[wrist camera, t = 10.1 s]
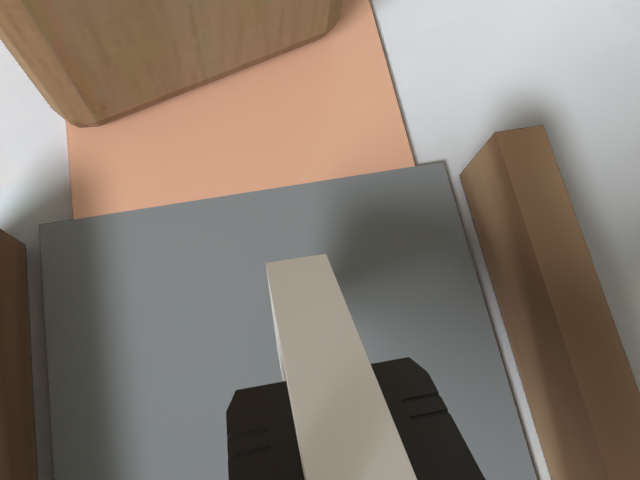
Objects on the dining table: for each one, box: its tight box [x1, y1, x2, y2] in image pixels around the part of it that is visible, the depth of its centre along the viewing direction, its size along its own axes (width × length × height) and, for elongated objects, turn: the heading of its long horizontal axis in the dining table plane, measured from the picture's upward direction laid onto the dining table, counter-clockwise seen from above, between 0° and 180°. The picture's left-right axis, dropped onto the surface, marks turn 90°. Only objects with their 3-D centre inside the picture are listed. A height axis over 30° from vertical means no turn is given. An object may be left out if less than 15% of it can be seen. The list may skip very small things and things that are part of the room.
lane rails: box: [0, 125, 640, 480], centre depth 14 cm, size 17×13×3 cm
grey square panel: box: [39, 162, 537, 480], centre depth 15 cm, size 13×15×1 cm
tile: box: [66, 0, 415, 219], centre depth 19 cm, size 11×12×1 cm
